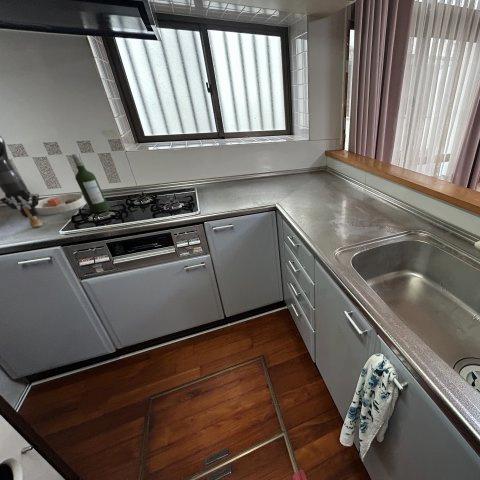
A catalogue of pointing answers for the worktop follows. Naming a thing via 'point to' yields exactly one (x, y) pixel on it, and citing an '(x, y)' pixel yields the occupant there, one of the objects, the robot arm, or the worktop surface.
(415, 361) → the worktop surface
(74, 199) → the walnut block
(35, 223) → the muddler
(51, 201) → the terracotta block
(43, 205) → the bowl
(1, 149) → the robot arm
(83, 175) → the wine bottle
